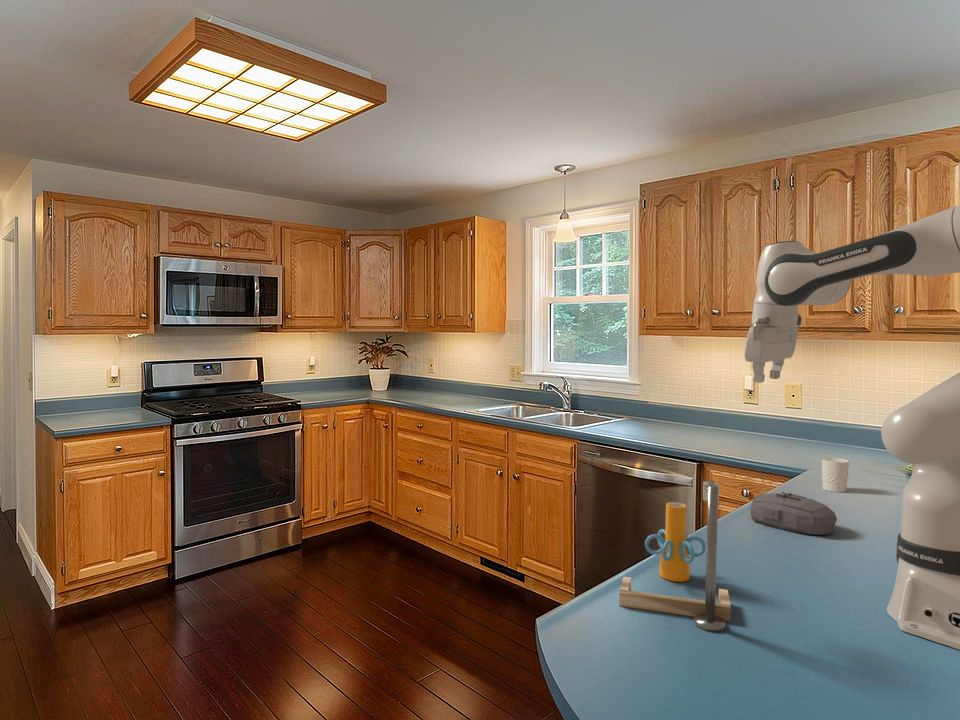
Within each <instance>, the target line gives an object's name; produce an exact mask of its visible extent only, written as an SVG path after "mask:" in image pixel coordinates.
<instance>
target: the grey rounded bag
mask: <svg viewBox="0 0 960 720" xmlns="http://www.w3.org/2000/svg"><path fill="white" fill-rule="evenodd" d="M749 511H750V517H751V519H752V521H755V522H757V523H759V524H762V525H764V526H766V527H772V528H774V529H779V530H782V531H786V532H791V533H797V534H803V535H805V534H806V535H820V536H821V535H822V536H826V535H830V534H832V533H833V532H834V528H835V525H836V523H837V521H838V519H837V515H836V512H834V510H832V509H831V508H830V507H829V506H828V505H826V504H824V503H822V502H819V501H817V500H814V499H812V498H808V497H805V496H802V495H797V494H793V493H786V492H784V491H781V493H763V494H759V495H757V496H755V498H754V499H752V502H751V506H750V510H749Z"/></svg>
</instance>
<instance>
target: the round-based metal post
mask: <svg viewBox="0 0 960 720" xmlns="http://www.w3.org/2000/svg"><path fill="white" fill-rule="evenodd" d="M702 501H703V502H707V518H706V519H707V520H706V521H707V523H706V526H707V527H706V557H705V559H706V561H705V562H706V563H705V565H706V566H705V567H706V569H705V596H704V597H705V599H704V601H705V614H698V615H696V616H695V617H694V618H693V619H694V625H695V627H697V628H699V629H701V630H703V631H706V632H712V633H713V632H715V633H717V632H719V633H720V632H723V631H724V630H726V621H724V620H723V619H722V618H720V617H718V616H715V602H716V594H717V593H716V592H717V590H716V587H717V586H716V584H717V553H718V552H717V549H718V547H717V545H718V515H719V514H718V511H719V510H718V509H719V508H718V507H719V506H718V505H719V504H718V503H720V484H719V482H717V481H715V480H713V479H708V480H707V481H705V480H703V482H702Z"/></svg>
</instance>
